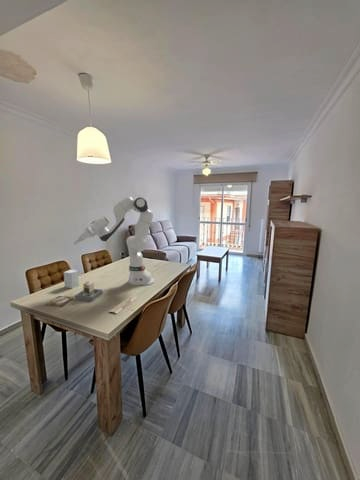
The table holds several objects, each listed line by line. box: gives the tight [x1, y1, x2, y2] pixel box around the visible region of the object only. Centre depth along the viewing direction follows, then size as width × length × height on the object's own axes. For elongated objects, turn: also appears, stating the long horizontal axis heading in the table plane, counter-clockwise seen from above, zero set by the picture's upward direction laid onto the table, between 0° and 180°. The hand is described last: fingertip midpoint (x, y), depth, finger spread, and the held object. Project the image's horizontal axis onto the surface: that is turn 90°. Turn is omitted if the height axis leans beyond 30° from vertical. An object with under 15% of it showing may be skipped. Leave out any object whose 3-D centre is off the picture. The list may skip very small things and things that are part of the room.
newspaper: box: [108, 295, 138, 315], centre depth 133 cm, size 24×7×2 cm, turn 160°
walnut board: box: [44, 295, 75, 307], centre depth 136 cm, size 12×12×1 cm
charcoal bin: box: [74, 288, 103, 302], centre depth 144 cm, size 13×13×3 cm
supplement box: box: [63, 269, 80, 289], centre depth 161 cm, size 7×7×13 cm
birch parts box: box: [82, 281, 95, 296], centre depth 144 cm, size 5×5×10 cm
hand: (74, 243), depth 149 cm, fingers open, 8 cm apart
